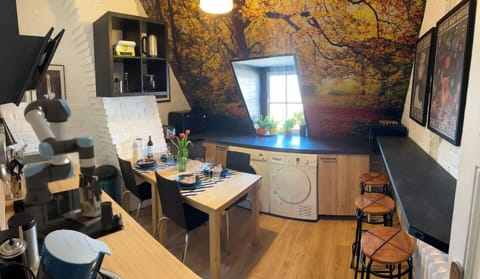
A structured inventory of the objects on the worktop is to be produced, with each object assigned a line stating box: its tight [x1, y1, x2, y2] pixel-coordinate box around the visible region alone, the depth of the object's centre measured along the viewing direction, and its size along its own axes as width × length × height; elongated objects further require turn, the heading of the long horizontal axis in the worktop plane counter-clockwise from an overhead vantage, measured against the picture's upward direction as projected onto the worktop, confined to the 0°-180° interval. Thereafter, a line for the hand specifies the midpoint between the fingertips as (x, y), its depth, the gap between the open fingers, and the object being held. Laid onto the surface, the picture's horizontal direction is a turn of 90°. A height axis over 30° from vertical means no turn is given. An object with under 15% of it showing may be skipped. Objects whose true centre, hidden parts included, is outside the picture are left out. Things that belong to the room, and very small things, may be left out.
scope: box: [98, 200, 124, 232], centre depth 151 cm, size 8×14×10 cm
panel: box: [61, 208, 101, 227], centre depth 165 cm, size 23×12×1 cm, turn 60°
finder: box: [68, 208, 85, 220], centre depth 164 cm, size 6×5×3 cm
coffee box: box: [78, 183, 103, 218], centre depth 162 cm, size 9×6×16 cm
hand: (91, 204), depth 163 cm, fingers closed on coffee box, 10 cm apart
